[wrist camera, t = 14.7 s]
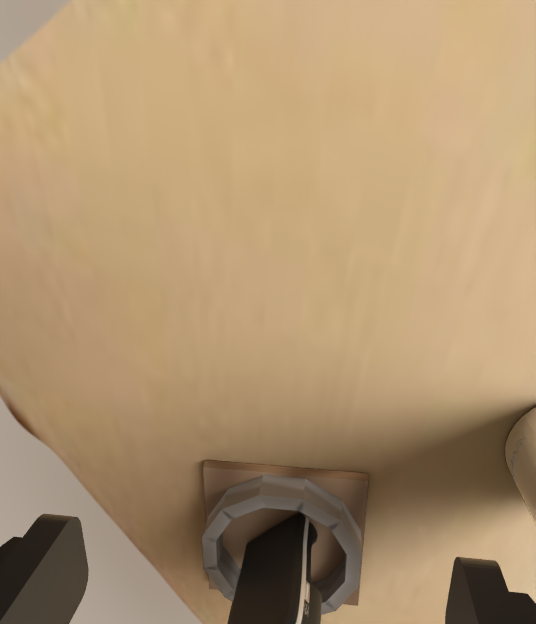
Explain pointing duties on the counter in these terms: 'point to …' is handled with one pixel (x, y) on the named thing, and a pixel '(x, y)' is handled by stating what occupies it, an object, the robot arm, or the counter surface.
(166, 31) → the counter surface
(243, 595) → the battery charger
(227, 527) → the ring collar
